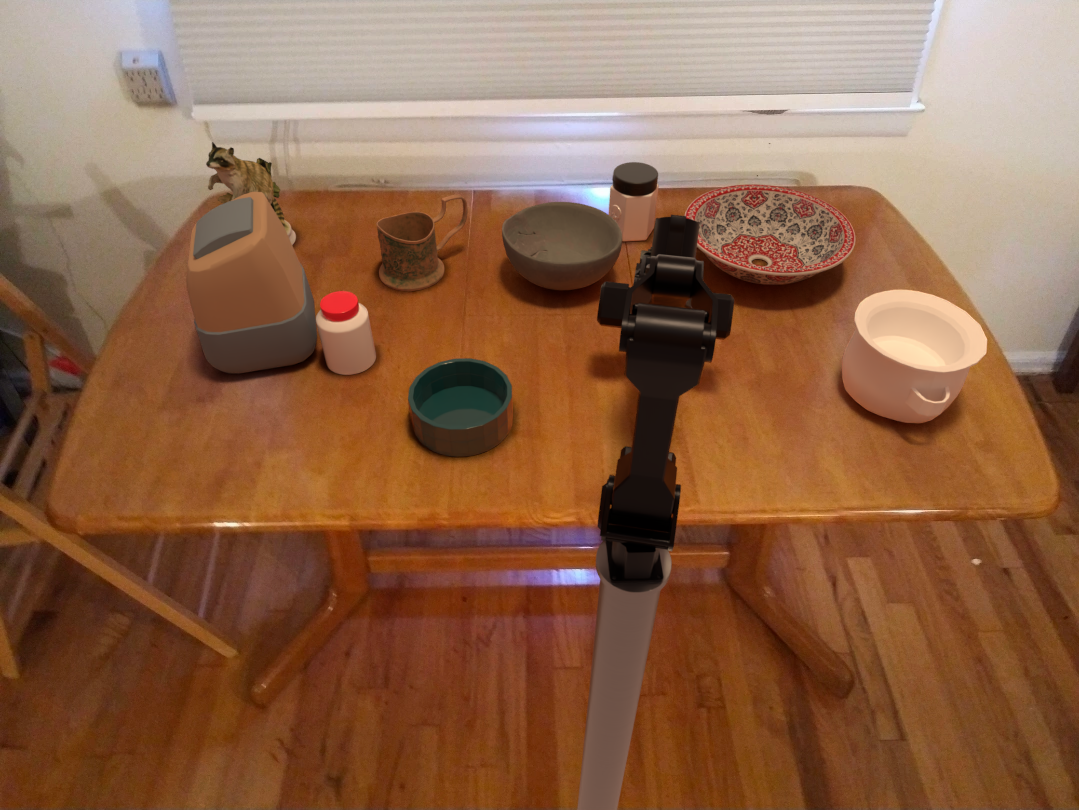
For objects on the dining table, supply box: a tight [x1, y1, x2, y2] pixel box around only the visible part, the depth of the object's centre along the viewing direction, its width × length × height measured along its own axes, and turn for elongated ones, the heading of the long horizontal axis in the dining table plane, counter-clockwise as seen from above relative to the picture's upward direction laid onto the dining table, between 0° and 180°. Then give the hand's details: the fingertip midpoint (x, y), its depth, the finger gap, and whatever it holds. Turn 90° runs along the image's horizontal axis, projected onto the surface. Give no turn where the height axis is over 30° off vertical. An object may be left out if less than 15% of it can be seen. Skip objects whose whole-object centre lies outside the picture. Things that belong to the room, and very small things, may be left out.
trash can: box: [185, 192, 318, 374], centre depth 117 cm, size 17×17×23 cm
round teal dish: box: [407, 357, 514, 458], centre depth 111 cm, size 14×14×6 cm
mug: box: [375, 194, 469, 292], centre depth 136 cm, size 12×18×12 cm, turn 124°
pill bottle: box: [315, 290, 377, 376], centre depth 118 cm, size 8×8×11 cm
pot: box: [841, 289, 988, 424], centre depth 113 cm, size 22×17×12 cm
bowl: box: [501, 201, 623, 291], centre depth 134 cm, size 20×20×10 cm
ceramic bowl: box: [683, 183, 856, 286], centre depth 138 cm, size 29×29×8 cm
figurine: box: [205, 141, 297, 246], centre depth 139 cm, size 12×14×20 cm
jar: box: [607, 161, 660, 242], centre depth 145 cm, size 9×8×12 cm
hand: (662, 318), depth 119 cm, fingers closed on light bulb, 6 cm apart
